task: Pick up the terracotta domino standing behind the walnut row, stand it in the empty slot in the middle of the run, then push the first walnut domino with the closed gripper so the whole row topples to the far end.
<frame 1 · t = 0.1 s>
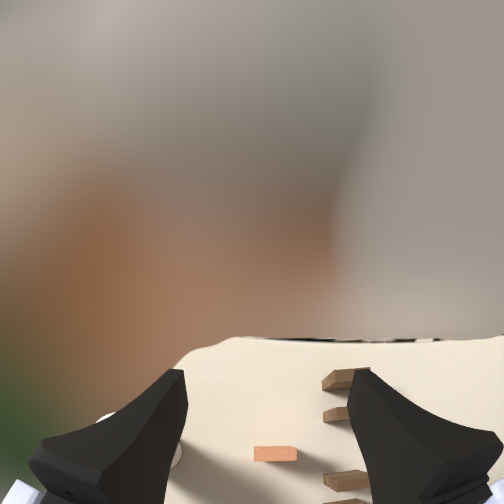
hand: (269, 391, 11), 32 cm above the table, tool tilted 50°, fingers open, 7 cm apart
domino 2: (340, 476, 32), on the table
domino 4: (339, 415, 37), on the table
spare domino: (271, 451, 35), on the table
domino 5: (338, 384, 40), on the table
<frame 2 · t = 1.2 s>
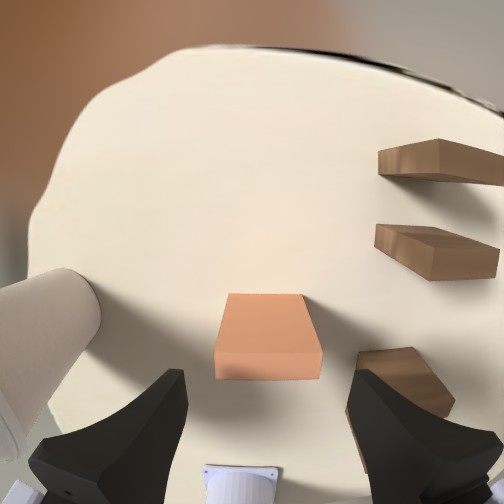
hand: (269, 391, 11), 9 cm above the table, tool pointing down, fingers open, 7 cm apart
domino 2: (384, 357, 21), on the table
domino 4: (405, 236, 19), on the table
coffee cup: (70, 304, 21), on the table
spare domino: (265, 304, 20), on the table
domino 5: (409, 166, 18), on the table
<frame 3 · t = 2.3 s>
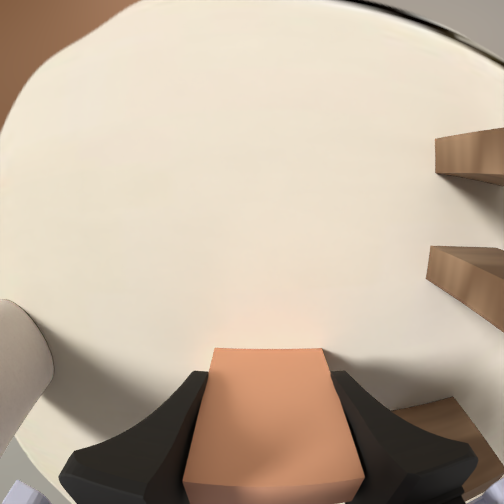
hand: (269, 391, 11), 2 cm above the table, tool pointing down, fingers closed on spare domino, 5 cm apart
domino 2: (420, 413, 14), on the table
domino 4: (464, 262, 12), on the table
coffee cup: (19, 343, 14), on the table
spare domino: (268, 363, 13), on the table, touching gripper
domino 5: (472, 163, 11), on the table
when the fingers open (3 cm above the table, at t = 6.7 s): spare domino drops 1 cm, on the table.
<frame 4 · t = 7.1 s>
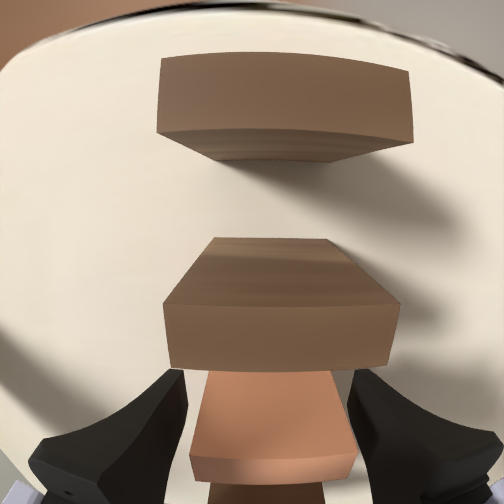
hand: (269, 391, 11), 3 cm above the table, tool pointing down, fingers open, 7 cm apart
domino 2: (264, 419, 16), on the table
domino 4: (270, 255, 13), on the table
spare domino: (267, 351, 14), on the table
domino 5: (272, 142, 12), on the table
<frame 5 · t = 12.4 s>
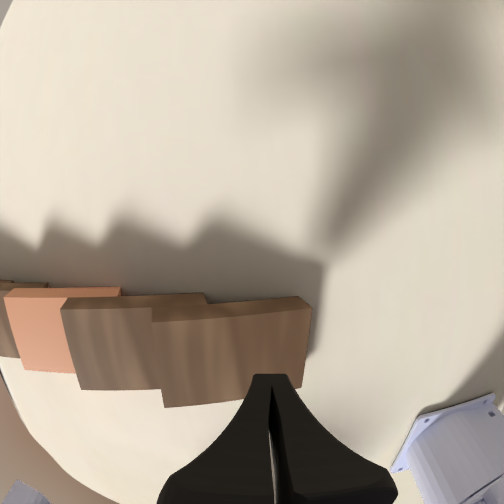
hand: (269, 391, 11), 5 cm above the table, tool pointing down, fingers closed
domino 2: (206, 340, 15), point 1 cm above the table, tilted 72°, touching domino 1
domino 4: (51, 322, 16), point 1 cm above the table, tilted 73°, touching domino 5, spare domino
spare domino: (124, 331, 16), point 1 cm above the table, tilted 73°, touching domino 4
domino 1: (300, 343, 15), point 1 cm above the table, tilted 72°, touching domino 2
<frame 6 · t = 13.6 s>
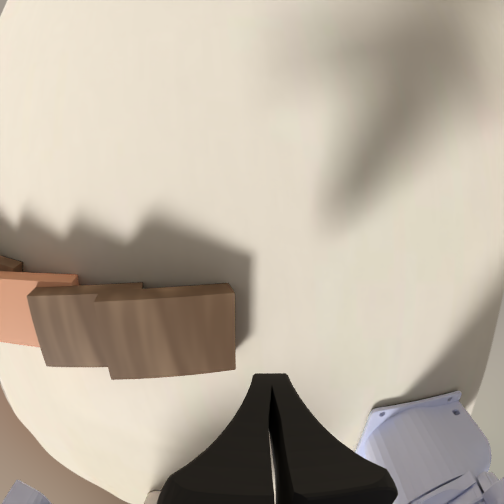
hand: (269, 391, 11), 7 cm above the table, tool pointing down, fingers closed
domino 2: (146, 324, 17), point 1 cm above the table, tilted 72°, touching domino 1, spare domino
domino 4: (17, 296, 17), point 1 cm above the table, tilted 75°, touching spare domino
coffee cup: (174, 501, 24), on the table
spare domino: (78, 313, 17), point 1 cm above the table, tilted 73°, touching domino 2, domino 4
domino 1: (231, 327, 17), point 1 cm above the table, tilted 72°, touching domino 2
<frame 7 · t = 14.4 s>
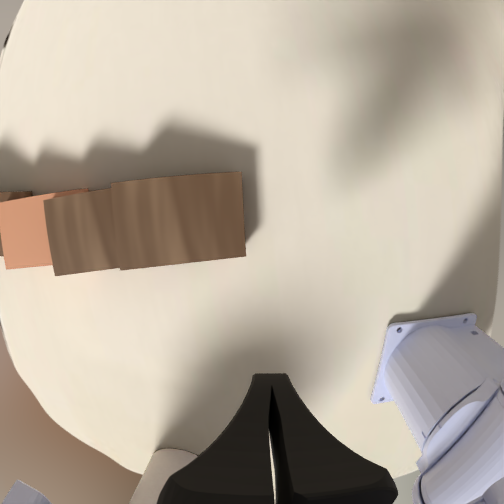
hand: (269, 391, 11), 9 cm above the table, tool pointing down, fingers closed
domino 2: (156, 221, 18), point 1 cm above the table, tilted 73°, touching domino 1, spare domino
domino 4: (27, 223, 18), point 1 cm above the table, tilted 69°, touching domino 5
coffee cup: (181, 464, 25), on the table
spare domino: (87, 224, 18), point 1 cm above the table, tilted 73°, touching domino 2
domino 1: (240, 213, 18), point 1 cm above the table, tilted 73°, touching domino 2
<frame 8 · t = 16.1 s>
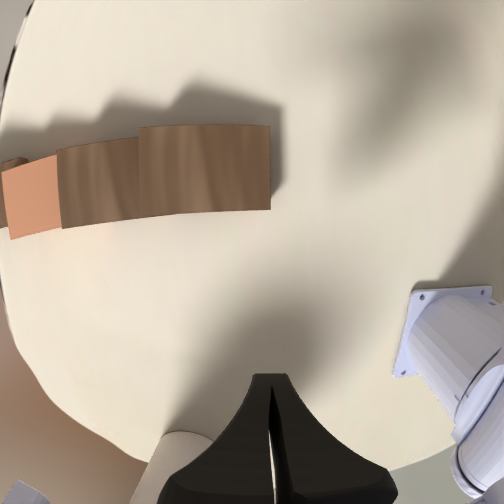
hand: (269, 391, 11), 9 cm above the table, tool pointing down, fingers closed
domino 2: (172, 174, 18), point 1 cm above the table, tilted 72°, touching domino 1, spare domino
domino 4: (26, 188, 17), point 1 cm above the table, tilted 72°, touching domino 5, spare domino
coffee cup: (190, 449, 25), on the table
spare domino: (95, 182, 18), point 1 cm above the table, tilted 72°, touching domino 2, domino 4
domino 1: (266, 168, 18), point 1 cm above the table, tilted 74°, touching domino 2
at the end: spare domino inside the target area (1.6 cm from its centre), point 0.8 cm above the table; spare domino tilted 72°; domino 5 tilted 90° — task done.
